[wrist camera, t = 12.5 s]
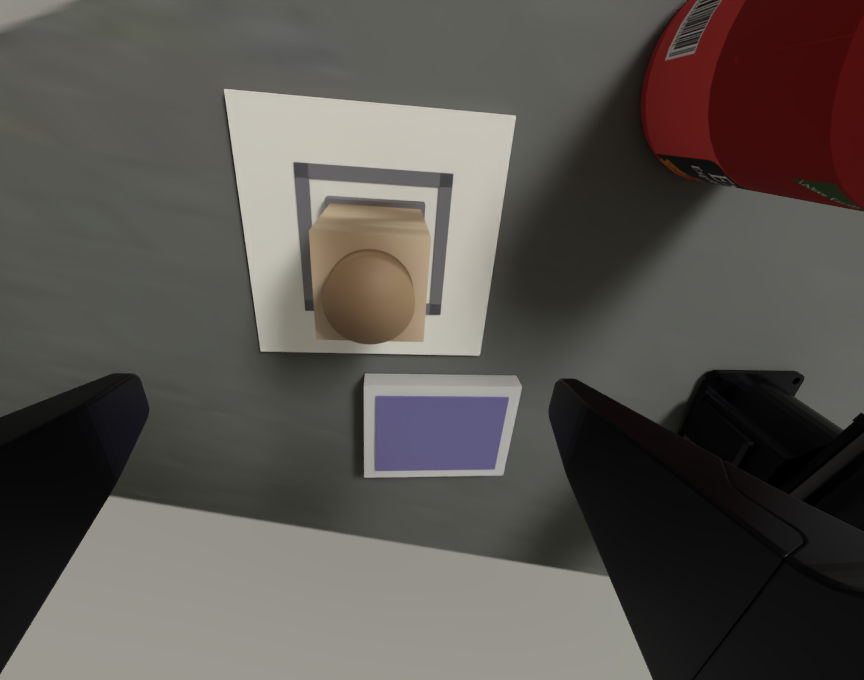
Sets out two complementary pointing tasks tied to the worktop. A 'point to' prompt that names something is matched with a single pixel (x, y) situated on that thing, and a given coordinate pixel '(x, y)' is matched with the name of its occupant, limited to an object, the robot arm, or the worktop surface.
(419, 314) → the stamp
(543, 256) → the worktop surface
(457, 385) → the ink pad
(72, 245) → the worktop surface
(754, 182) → the canned food
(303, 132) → the print card
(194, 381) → the worktop surface
